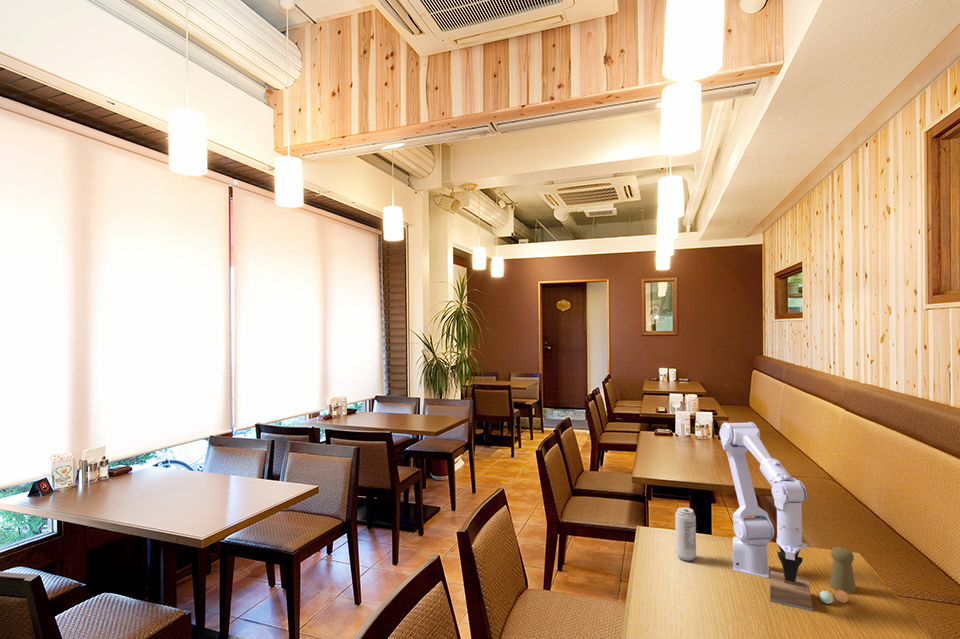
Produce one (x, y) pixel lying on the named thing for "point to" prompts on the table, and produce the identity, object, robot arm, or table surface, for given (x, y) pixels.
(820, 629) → the table surface
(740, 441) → the robot arm
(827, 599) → the mint ball
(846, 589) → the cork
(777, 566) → the table surface
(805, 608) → the plate
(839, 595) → the terracotta ball
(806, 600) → the walnut cover
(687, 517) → the energy drink can
